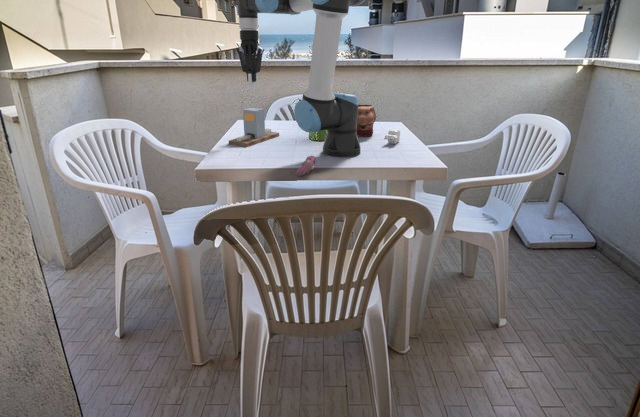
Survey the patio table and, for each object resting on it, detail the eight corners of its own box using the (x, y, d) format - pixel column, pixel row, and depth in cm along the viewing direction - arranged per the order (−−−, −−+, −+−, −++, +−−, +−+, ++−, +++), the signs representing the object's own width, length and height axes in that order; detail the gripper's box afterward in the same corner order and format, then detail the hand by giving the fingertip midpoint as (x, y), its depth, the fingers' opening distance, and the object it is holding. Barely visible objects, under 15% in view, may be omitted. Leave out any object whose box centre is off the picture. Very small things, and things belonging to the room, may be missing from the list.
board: (261, 133, 197) (261, 130, 197) (279, 135, 193) (279, 132, 192) (228, 144, 178) (228, 140, 177) (247, 146, 173) (247, 143, 173)
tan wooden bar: (267, 131, 194) (266, 128, 194) (271, 132, 193) (271, 129, 193) (237, 141, 176) (236, 137, 176) (241, 141, 175) (241, 138, 175)
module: (252, 134, 189) (251, 107, 184) (265, 136, 186) (264, 109, 181) (244, 137, 184) (242, 109, 179) (256, 138, 181) (255, 111, 176)
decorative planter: (347, 129, 207) (348, 101, 201) (372, 130, 207) (373, 101, 202) (351, 139, 188) (352, 108, 183) (377, 139, 188) (379, 108, 183)
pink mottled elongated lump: (306, 181, 137) (315, 164, 134) (294, 174, 137) (303, 157, 134) (312, 172, 146) (320, 156, 143) (300, 166, 146) (309, 149, 143)
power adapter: (392, 147, 174) (393, 133, 172) (381, 146, 176) (382, 132, 174) (400, 142, 183) (401, 128, 181) (390, 140, 185) (391, 127, 183)
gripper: (267, 29, 168) (269, 89, 177) (242, 29, 174) (245, 87, 183) (256, 29, 162) (259, 91, 171) (230, 29, 168) (234, 89, 177)
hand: (252, 89), depth 177 cm, fingers closed
